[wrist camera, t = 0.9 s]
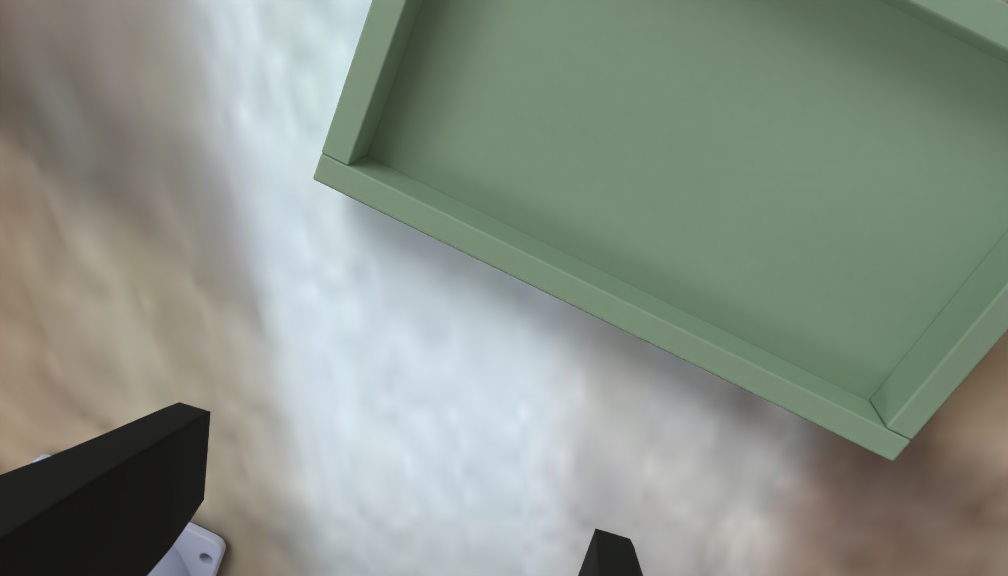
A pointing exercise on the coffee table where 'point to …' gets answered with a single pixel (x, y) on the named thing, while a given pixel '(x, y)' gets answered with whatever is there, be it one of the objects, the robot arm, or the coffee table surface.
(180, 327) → the coffee table surface
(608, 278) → the tray
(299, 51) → the coffee table surface
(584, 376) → the coffee table surface
